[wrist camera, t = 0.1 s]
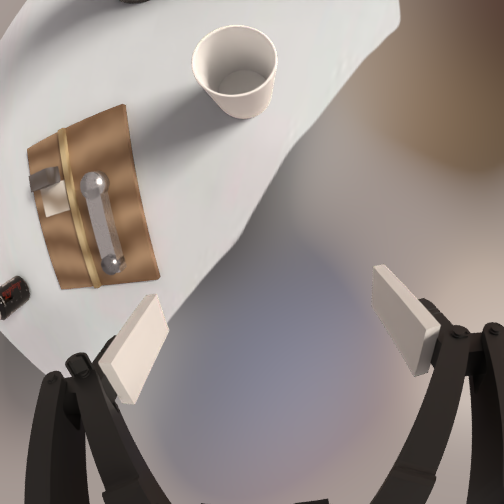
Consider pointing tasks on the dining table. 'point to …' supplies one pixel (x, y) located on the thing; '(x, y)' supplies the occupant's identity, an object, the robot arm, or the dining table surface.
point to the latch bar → (103, 221)
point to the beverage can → (13, 296)
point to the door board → (75, 206)
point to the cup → (236, 69)
